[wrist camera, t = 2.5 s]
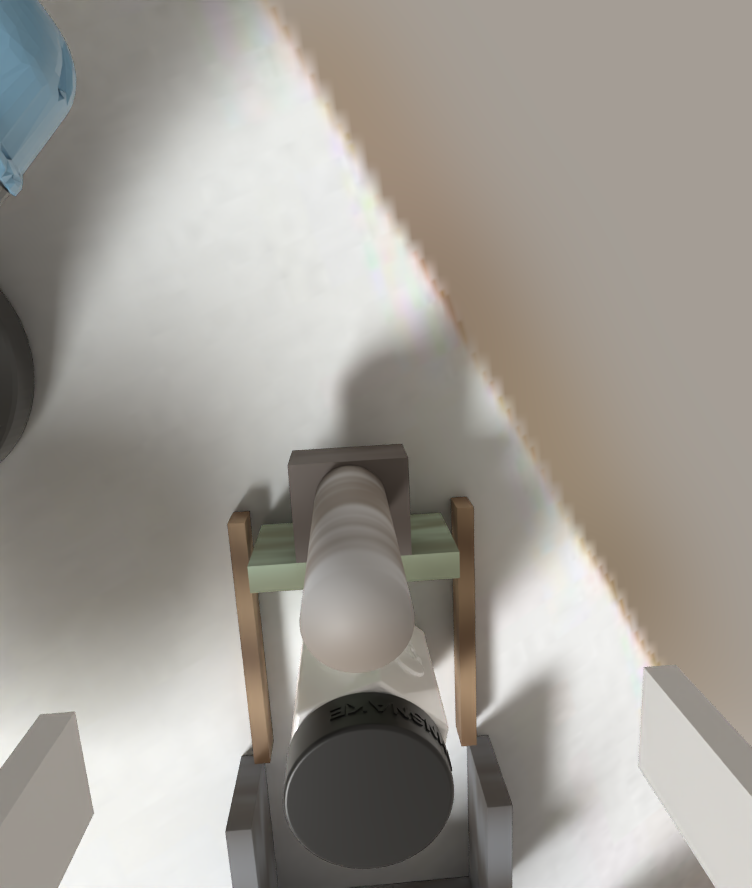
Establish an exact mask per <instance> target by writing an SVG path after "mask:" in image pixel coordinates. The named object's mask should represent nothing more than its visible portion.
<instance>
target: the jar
mask: <svg viewBox="0 0 752 888" xmlns="http://www.w3.org/2000/svg"><path fill="white" fill-rule="evenodd" d="M447 733H448V724H447V720H446V716H445V712H444V708H443V704H442V700H441V697H440V693H439V689H438V685H437V681H436V677H435V673H434V669H433V665H432V662H431V658H430V654H429V650H428V646H427V642H426V638H425V634H424V632H423V631H422V630H421V629H419V628H418V627H416V626H415V625H414V631H413V634H412V637H411V639H410V641H409V644H408V645H407V647H406V648H405V650H404V651H403V652H402V653H401V654H400V655H399V656H398V657H397V658H396V659H395V660H394V661H392V662H391V663H389V664H388V665H386V666H384V667H382V668H379V669H377V670H374V671H370V672H364V673H347V672H342V671H338V670H335V669H332V668H330V667H328V666H326V665H324V664H323V663H321V662H320V661H318V660H317V659H316V658H315V657H314V656H313V655H312V654H311V653H310V651H309V650H308V648H307V647H306V645H305V643H304V641H303V640H302V647H301V655H300V662H299V669H298V677H297V685H296V694H295V703H294V712H293V721H292V730H291V739H290V745H289V749H288V754H287V762H286V771H285V779H284V788H283V808H284V814H285V818H286V820H287V823H288V825H289V827H290V829H291V831H292V833H293V834H294V836H295V837H296V838H297V839H298V841H299V842H300V843H301V844H302V845H303V846H304V847H305V848H306V849H307V850H309V851H310V852H311V853H313V854H314V855H316V856H317V857H319V858H321V859H323V860H325V861H327V862H330V863H332V864H336V865H339V866H343V867H348V868H358V869H371V868H380V867H385V866H389V865H393V864H396V863H399V862H402V861H404V860H406V859H408V858H410V857H412V856H414V855H416V854H417V853H419V852H420V851H422V850H423V849H424V848H425V847H427V846H428V845H429V844H430V843H431V842H432V841H433V840H434V839H435V838H436V837H437V836H438V834H439V833H440V832H441V830H442V829H443V827H444V825H445V824H446V822H447V820H448V818H449V815H450V813H451V809H452V805H453V800H454V784H453V777H452V773H451V771H452V766H451V762H450V758H449V754H448V750H447V749H446V745H445V743H446V738H447Z"/></svg>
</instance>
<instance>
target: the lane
mask: <svg viewBox="0 0 752 888" xmlns="http://www.w3.org/2000/svg"><path fill="white" fill-rule="evenodd" d="M451 525H452V537H453V539H454V541H455V544H456V546H457V548H458V550H459V557H460V578H454V579H453V617H454V662H455V708H456V728H457V732H458V735H459V739H460V742H461V746H467V774H468V833H469V877H459V878H449V879H438V880H428V881H417V882H407V883H397V884H386V885H376V886H365V887H355V888H512V803H511V800H510V797H509V794H508V791H507V788H506V785H505V783H504V780H503V777H502V774H501V771H500V768H499V765H498V762H497V759H496V756H495V753H494V751H493V748H492V745H491V742H490V739H489V736H488V735H486V736H477V731H476V651H475V572H474V507H473V505H472V504H471V502H470V501H469V499H468V498H467V497H455V498H451ZM227 526H228V534H229V543H230V552H231V561H232V570H233V578H234V587H235V596H236V605H237V614H238V622H239V631H240V640H241V649H242V658H243V667H244V675H245V684H246V693H247V702H248V711H249V719H250V728H251V737H252V746H253V755H252V756H242V757H241V761H240V766H239V771H238V775H237V780H236V785H235V789H234V794H233V798H232V803H231V808H230V812H229V817H228V822H227V826H226V831H225V833H226V840H227V848H228V856H229V863H230V871H231V879H232V886H233V888H278V881H277V872H276V863H275V854H274V844H273V835H272V826H271V817H270V808H269V798H268V789H267V780H266V771H265V763H270V761H271V754H272V747H273V732H272V722H271V713H270V703H269V693H268V684H267V674H266V665H265V655H264V645H263V636H262V626H261V616H260V607H259V597H258V593H250V586H249V577H248V568H247V566H248V563H249V561H250V558H251V555H252V552H253V539H252V530H251V520H250V511H245V512H233V514H232V516H231V518H230V520H229V522H228V524H227Z"/></svg>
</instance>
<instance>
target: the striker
mask: <svg viewBox="0 0 752 888" xmlns="http://www.w3.org/2000/svg"><path fill="white" fill-rule="evenodd" d="M288 475H289V486H290V498H291V509H292V521H293V523H280V524H265V525H262V526H261V529H260V532H259V535H258V538H257V540H256V543H255V546H254V549H253V552H252V555H251V558H250V561H249V563H248V566H247V568H248V577H249V586H250V593H262V592H275V591H289V590H303V596H302V604H301V612H300V632H301V636H302V639H303V641H304V643H305V645H306V647H307V648H308V650H309V651H310V653H311V654H312V655H313V656H314V657H315V658H316V659H317V660H318V661H320V662H321V663H323V664H324V665H326V666H328V667H330V668H332V669H335V670H338V671H342V672H347V673H364V672H370V671H374V670H377V669H379V668H382V667H384V666H386V665H388V664H389V663H391V662H392V661H394V660H395V659H396V658H397V657H398V656H399V655H400V654H401V653H402V652H403V651H404V650H405V648H406V647H407V645H408V644H409V641H410V639H411V637H412V634H413V631H414V625H415V614H414V608H413V604H412V600H411V596H410V592H409V588H408V584H407V582H413V581H426V580H440V579H454V578H460V557H459V550H458V548H457V546H456V544H455V541H454V539H453V537H452V535H451V533H450V531H449V529H448V527H447V525H446V523H445V521H444V519H443V517H442V514H441V513H428V514H413V515H410V495H409V469H408V456H407V454H406V452H405V449H404V447H403V445H402V444H391V445H375V446H359V447H343V448H327V449H311V450H295V451H292V453H291V456H290V459H289V463H288Z"/></svg>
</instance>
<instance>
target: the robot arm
mask: <svg viewBox="0 0 752 888" xmlns="http://www.w3.org/2000/svg"><path fill="white" fill-rule="evenodd" d="M75 93H76V72H75V67H74V62H73V59H72V56H71V53H70V50H69V48H68V45H67V43H66V41H65V39H64V37H63V36H62V34H61V32H60V31H59V29H58V27H57V26H56V24H55V23H54V21H53V20H52V19H51V17H50V16H49V15H48V13H47V12H46V10H45V9H44V8H43V6H42V5H41V4H40V2H39V1H38V0H0V205H1V204H2V203H3V201H4V200H5V199H6V198H7V197H8V196H9V194H12V195H13V196H16V195H17V194H18V193H19V192H20V191H21V190H22V185H23V177H22V175H23V174H24V173H25V171H26V170H27V169H28V167H29V166H30V164H31V163H32V162H33V160H34V159H35V158H36V156H37V155H38V154H39V152H40V151H41V150H42V148H43V147H44V145H45V144H46V143H47V141H48V140H49V139H50V137H51V136H52V135H53V133H54V132H55V131H56V129H57V128H58V127H59V125H60V124H61V122H62V121H63V120H64V118H65V117H66V116H67V114H68V112H69V111H70V109H71V106H72V104H73V101H74V98H75ZM33 394H34V368H33V361H32V356H31V351H30V347H29V344H28V340H27V337H26V334H25V332H24V329H23V327H22V325H21V322H20V320H19V318H18V316H17V314H16V313H15V311H14V309H13V307H12V306H11V304H10V303H9V301H8V300H7V298H6V297H5V295H4V294H3V293H2V291H1V290H0V462H1V461H2V460H3V459H4V458H5V457H6V456H7V455H8V454H9V453H10V451H11V450H12V449H13V448H14V446H15V445H16V443H17V442H18V440H19V438H20V436H21V435H22V433H23V431H24V428H25V426H26V424H27V421H28V418H29V415H30V411H31V407H32V402H33ZM638 768H639V769H640V771H641V772H642V774H643V776H644V777H645V779H646V780H647V782H648V783H649V785H650V787H651V788H652V790H653V791H654V793H655V794H656V796H657V797H658V799H659V801H660V802H661V804H662V805H663V807H664V808H665V810H666V811H667V813H668V815H669V816H670V818H671V819H672V821H673V822H674V824H675V825H676V827H677V829H678V830H679V832H680V833H681V835H682V836H683V838H684V840H685V841H686V843H687V844H688V846H689V847H690V849H691V850H692V852H693V854H694V855H695V857H696V858H697V860H698V861H699V863H700V864H701V866H702V868H703V869H704V871H705V872H706V874H707V875H708V877H709V879H710V880H711V882H712V883H713V885H714V886H715V888H752V747H751V745H750V744H749V743H748V742H747V741H746V740H745V739H744V738H743V737H742V736H741V735H740V734H739V733H738V731H737V730H736V729H735V728H734V727H733V726H732V725H731V724H730V723H729V722H728V721H727V720H726V719H725V717H724V716H723V715H722V714H721V713H720V712H719V711H718V710H717V709H716V708H715V707H714V706H713V704H712V703H711V702H710V701H709V700H708V699H707V698H706V697H705V696H704V695H703V694H702V693H701V692H700V690H699V689H698V688H697V687H696V686H695V685H694V684H693V683H692V682H691V681H690V680H689V679H688V678H687V677H686V676H685V675H684V673H683V672H682V671H681V670H680V669H679V668H678V667H677V666H676V665H666V666H653V667H644V673H643V690H642V706H641V723H640V740H639V756H638ZM93 814H94V811H93V806H92V801H91V795H90V790H89V785H88V779H87V774H86V769H85V763H84V758H83V753H82V747H81V742H80V737H79V731H78V726H77V721H76V715H75V712H65V713H53V714H40V715H39V717H38V718H37V719H36V721H35V722H34V724H33V725H32V726H31V728H30V729H29V730H28V732H27V733H26V734H25V736H24V737H23V739H22V740H21V741H20V743H19V744H18V745H17V747H16V748H15V749H14V751H13V752H12V754H11V755H10V756H9V758H8V759H7V760H6V762H5V763H4V764H3V766H2V767H1V769H0V888H58V886H59V884H60V882H61V880H62V878H63V876H64V874H65V872H66V870H67V868H68V866H69V864H70V862H71V860H72V858H73V856H74V853H75V851H76V849H77V847H78V845H79V843H80V841H81V839H82V837H83V835H84V833H85V831H86V829H87V827H88V825H89V823H90V820H91V818H92V816H93Z"/></svg>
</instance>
